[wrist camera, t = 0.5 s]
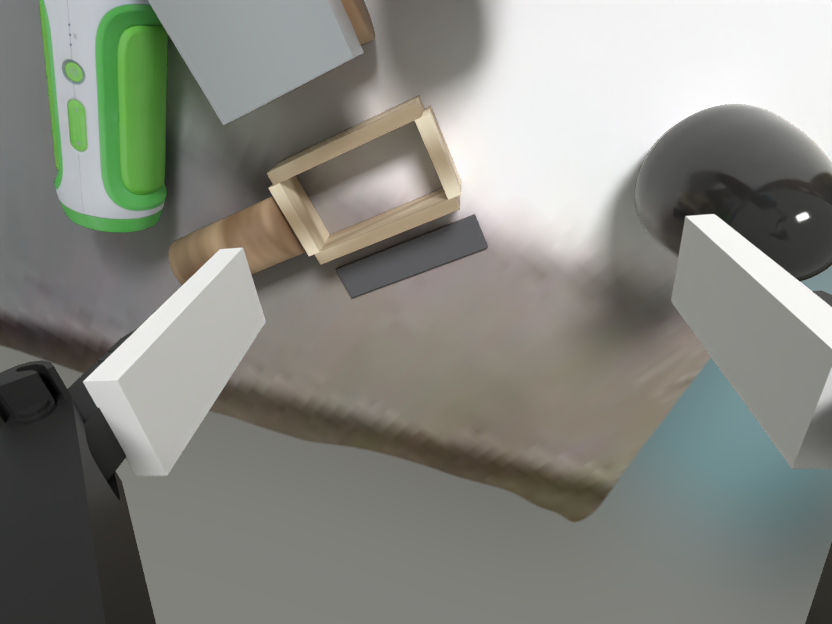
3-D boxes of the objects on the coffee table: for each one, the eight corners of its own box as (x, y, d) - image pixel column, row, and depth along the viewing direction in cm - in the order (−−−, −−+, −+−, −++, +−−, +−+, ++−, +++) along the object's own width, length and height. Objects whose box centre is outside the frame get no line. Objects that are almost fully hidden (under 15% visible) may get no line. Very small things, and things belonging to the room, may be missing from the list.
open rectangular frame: (275, 163, 40) (260, 175, 37) (425, 92, 36) (422, 99, 33) (325, 249, 43) (315, 267, 40) (465, 192, 40) (466, 206, 37)
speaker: (84, -64, 33) (-8, -82, 27) (193, -27, 34) (129, -36, 27) (97, 185, 42) (31, 217, 36) (183, 211, 43) (133, 246, 36)
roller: (183, 228, 43) (158, 259, 39) (280, 183, 40) (263, 212, 36) (220, 272, 46) (200, 305, 42) (313, 233, 43) (301, 265, 39)
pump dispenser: (600, 139, 37) (675, 209, 24) (753, 67, 34) (935, 102, 21) (638, 253, 41) (719, 365, 28) (776, 199, 38) (939, 296, 25)
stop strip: (336, 268, 44) (335, 270, 44) (474, 214, 40) (474, 215, 40) (352, 295, 45) (351, 297, 45) (487, 245, 42) (487, 247, 42)
